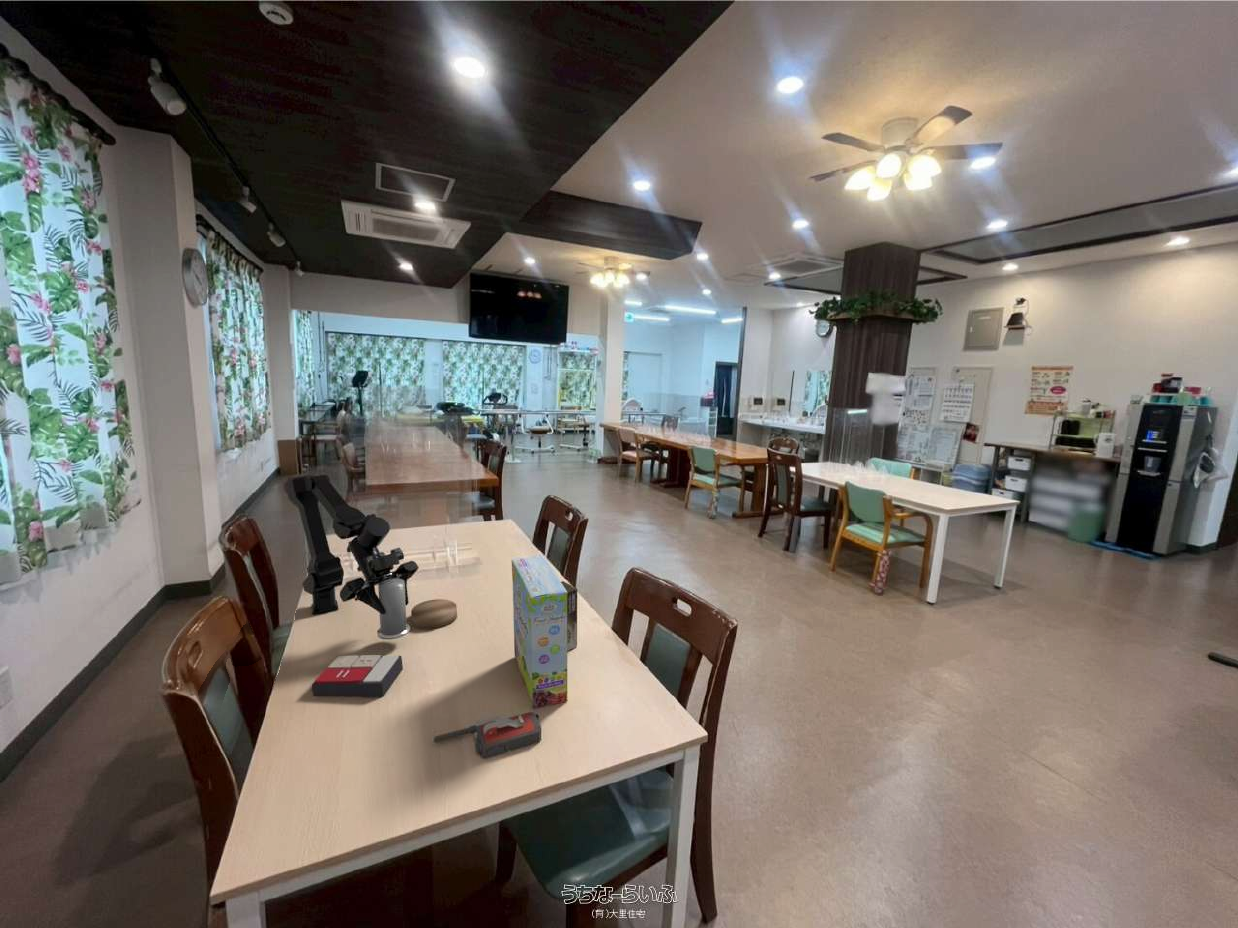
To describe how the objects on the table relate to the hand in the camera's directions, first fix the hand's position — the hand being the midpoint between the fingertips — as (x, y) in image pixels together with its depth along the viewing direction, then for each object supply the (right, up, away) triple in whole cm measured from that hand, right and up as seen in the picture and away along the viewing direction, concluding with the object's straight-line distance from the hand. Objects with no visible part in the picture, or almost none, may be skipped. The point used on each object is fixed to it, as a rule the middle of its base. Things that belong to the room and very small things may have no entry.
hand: (395, 608), depth 128 cm
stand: (+4, -7, +16) cm, 18 cm away
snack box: (+37, -13, -10) cm, 41 cm away
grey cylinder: (-1, -6, +2) cm, 7 cm away
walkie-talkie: (+31, -17, -30) cm, 47 cm away
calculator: (-3, -13, -13) cm, 19 cm away
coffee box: (+39, -11, +3) cm, 41 cm away
